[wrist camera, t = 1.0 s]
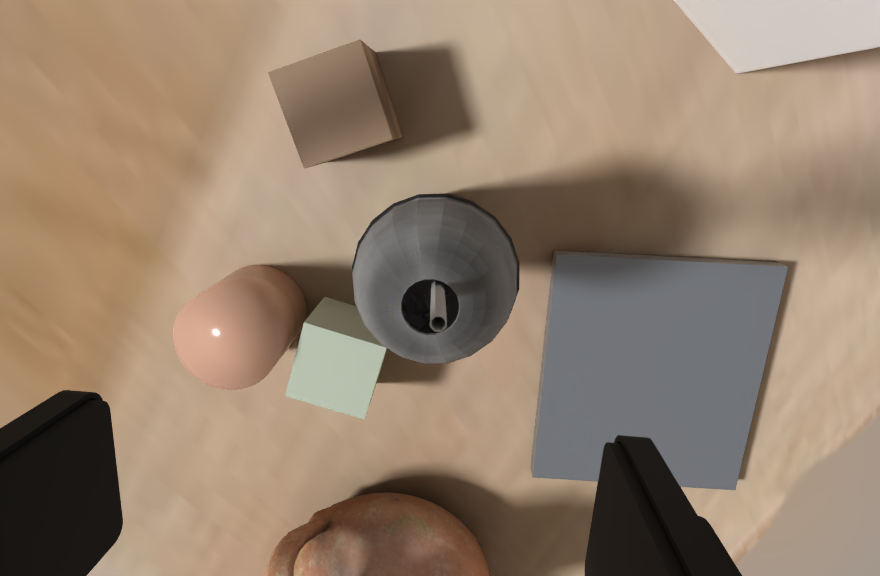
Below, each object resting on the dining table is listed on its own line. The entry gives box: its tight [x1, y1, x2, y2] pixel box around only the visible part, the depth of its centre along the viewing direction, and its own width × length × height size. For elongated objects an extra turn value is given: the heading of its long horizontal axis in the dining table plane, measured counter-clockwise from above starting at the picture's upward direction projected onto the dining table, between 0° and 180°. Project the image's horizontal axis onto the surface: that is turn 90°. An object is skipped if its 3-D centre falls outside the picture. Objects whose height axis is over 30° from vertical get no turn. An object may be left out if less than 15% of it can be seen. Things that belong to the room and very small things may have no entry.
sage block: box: [285, 297, 387, 419], centre depth 35 cm, size 5×5×5 cm
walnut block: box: [268, 40, 403, 168], centre depth 30 cm, size 5×5×5 cm
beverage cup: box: [352, 194, 519, 364], centre depth 25 cm, size 7×7×20 cm
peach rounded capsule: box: [173, 265, 307, 390], centre depth 34 cm, size 6×6×6 cm
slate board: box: [531, 250, 788, 490], centre depth 36 cm, size 16×14×1 cm
